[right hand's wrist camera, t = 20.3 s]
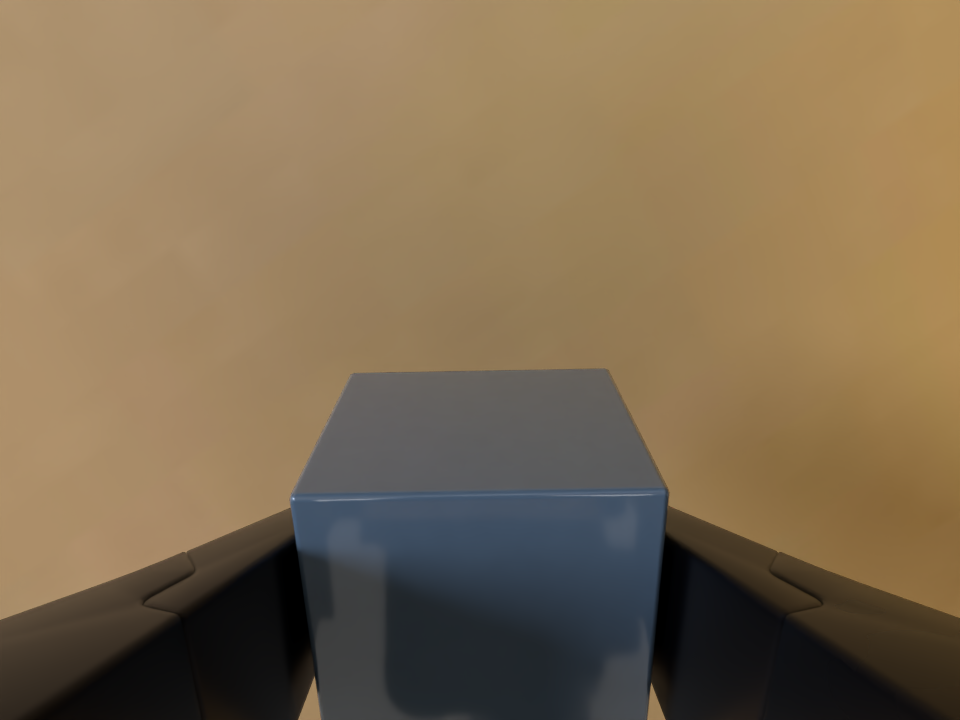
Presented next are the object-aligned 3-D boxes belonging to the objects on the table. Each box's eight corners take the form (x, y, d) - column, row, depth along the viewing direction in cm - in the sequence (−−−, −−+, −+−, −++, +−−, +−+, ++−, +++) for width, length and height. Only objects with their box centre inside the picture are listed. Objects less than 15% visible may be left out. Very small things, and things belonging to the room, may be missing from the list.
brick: (369, 575, 13) (324, 762, 9) (349, 371, 12) (286, 495, 8) (597, 572, 13) (645, 758, 9) (609, 366, 12) (672, 489, 8)
